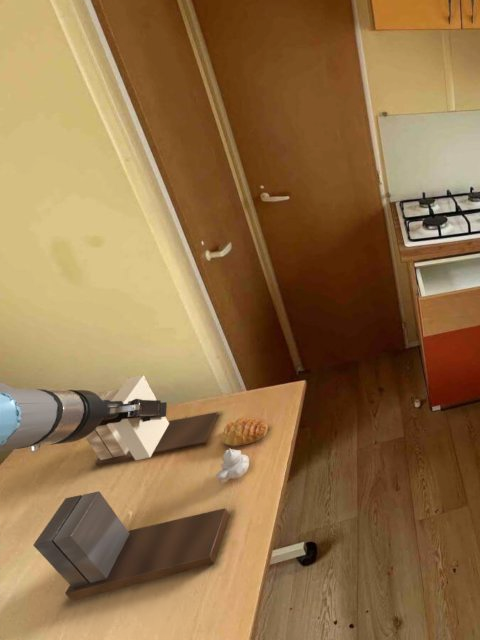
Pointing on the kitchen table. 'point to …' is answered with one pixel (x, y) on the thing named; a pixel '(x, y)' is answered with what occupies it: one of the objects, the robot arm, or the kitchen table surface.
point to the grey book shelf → (124, 546)
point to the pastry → (243, 431)
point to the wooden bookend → (173, 439)
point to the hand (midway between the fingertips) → (154, 411)
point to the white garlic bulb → (233, 465)
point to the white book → (139, 420)
